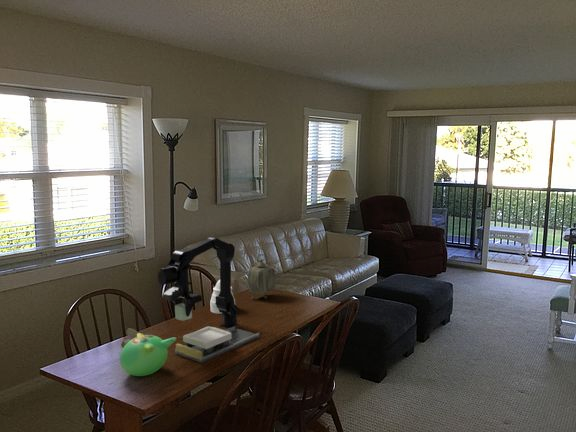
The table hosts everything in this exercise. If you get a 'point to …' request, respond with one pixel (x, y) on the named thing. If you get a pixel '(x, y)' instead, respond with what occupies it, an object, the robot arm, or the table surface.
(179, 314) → the green block
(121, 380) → the table surface
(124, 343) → the grey angular piece
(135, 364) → the green rounded figure
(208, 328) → the white square tray
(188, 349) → the track
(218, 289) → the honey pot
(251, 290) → the tabletop clock
